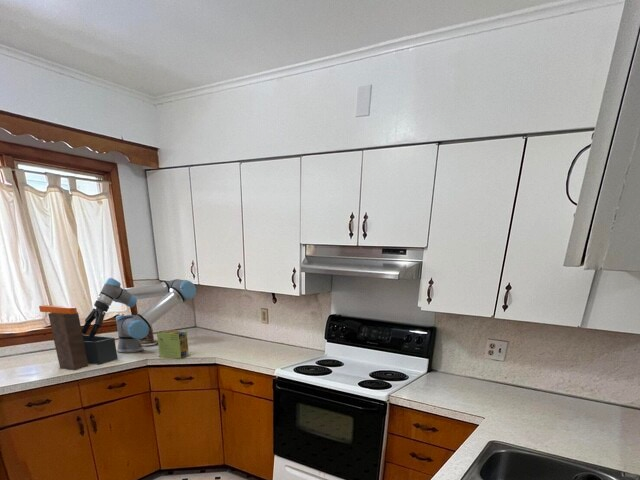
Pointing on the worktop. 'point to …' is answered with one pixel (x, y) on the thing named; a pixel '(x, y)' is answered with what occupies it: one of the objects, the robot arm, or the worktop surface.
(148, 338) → the jar
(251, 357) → the worktop surface
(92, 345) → the trash bin
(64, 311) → the orange bar
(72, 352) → the stand
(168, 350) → the protein box
